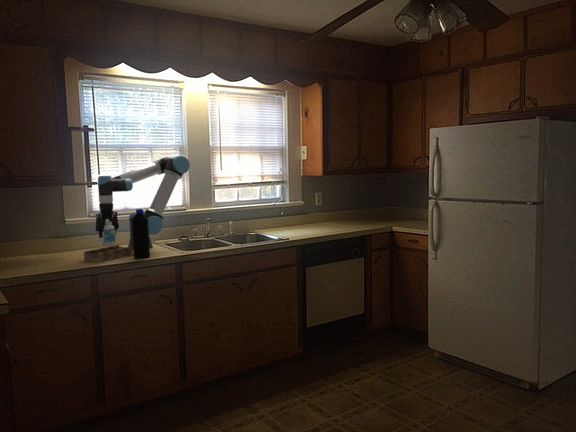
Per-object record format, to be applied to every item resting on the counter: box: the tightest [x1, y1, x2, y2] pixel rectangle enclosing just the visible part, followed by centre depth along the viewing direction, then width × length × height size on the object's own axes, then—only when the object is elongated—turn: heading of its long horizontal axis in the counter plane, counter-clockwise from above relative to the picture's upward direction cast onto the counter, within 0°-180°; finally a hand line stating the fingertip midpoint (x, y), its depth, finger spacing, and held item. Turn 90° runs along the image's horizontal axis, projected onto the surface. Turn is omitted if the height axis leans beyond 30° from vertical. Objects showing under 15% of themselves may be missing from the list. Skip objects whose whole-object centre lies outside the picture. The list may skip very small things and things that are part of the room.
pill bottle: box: [101, 220, 116, 247], centre depth 285 cm, size 8×7×14 cm
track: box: [83, 244, 134, 263], centre depth 286 cm, size 24×13×5 cm, turn 151°
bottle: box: [132, 208, 151, 260], centre depth 283 cm, size 9×9×28 cm
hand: (108, 242), depth 285 cm, fingers closed on pill bottle, 7 cm apart
